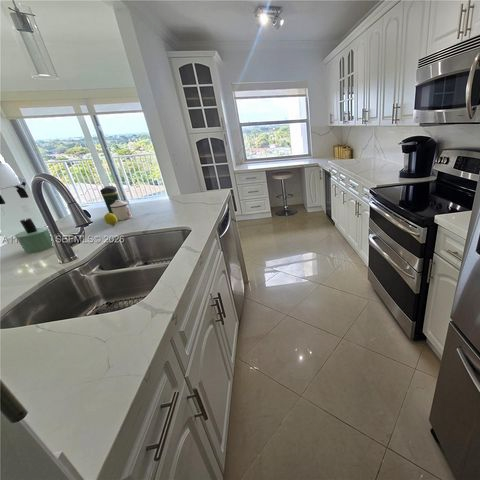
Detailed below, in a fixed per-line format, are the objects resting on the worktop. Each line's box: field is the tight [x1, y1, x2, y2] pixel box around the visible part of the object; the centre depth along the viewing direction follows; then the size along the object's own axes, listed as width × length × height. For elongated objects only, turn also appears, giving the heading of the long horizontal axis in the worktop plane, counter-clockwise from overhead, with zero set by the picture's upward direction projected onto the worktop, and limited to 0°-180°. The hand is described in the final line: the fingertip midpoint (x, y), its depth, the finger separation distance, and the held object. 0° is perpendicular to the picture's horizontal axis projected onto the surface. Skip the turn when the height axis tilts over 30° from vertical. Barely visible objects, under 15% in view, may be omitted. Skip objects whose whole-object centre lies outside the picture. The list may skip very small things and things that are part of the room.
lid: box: [14, 218, 48, 239], centre depth 120 cm, size 12×12×7 cm
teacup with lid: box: [110, 200, 133, 221], centre depth 159 cm, size 12×9×12 cm
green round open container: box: [16, 231, 54, 254], centre depth 123 cm, size 11×11×8 cm
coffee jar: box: [99, 185, 122, 214], centre depth 164 cm, size 10×8×19 cm
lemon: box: [103, 212, 118, 227], centre depth 147 cm, size 6×6×8 cm
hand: (13, 200), depth 114 cm, fingers open, 9 cm apart
